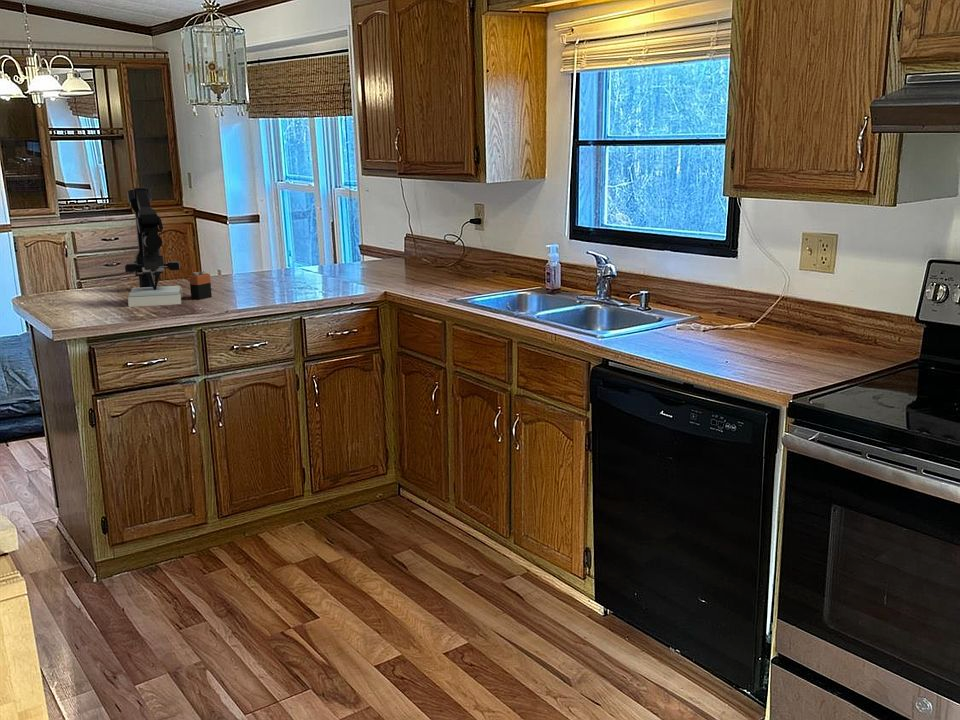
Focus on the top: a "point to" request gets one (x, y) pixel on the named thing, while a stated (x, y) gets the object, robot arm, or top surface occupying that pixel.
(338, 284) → the top surface
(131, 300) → the white slat
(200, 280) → the battery
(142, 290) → the cover
